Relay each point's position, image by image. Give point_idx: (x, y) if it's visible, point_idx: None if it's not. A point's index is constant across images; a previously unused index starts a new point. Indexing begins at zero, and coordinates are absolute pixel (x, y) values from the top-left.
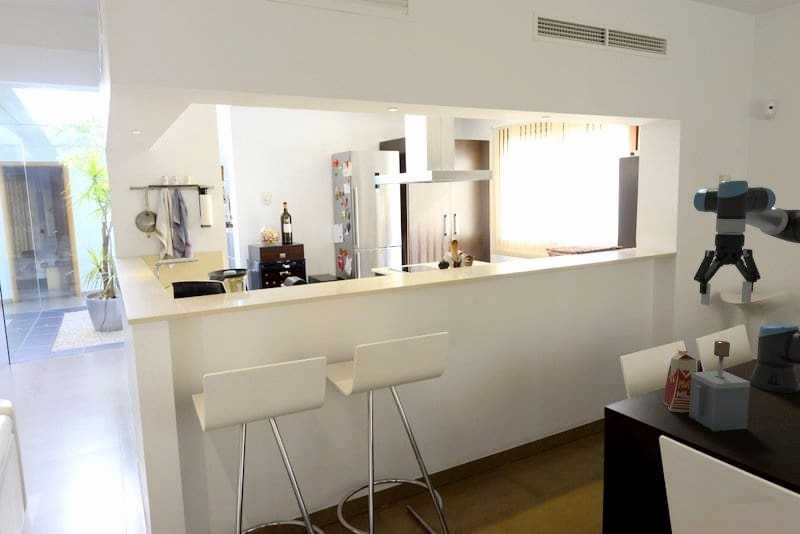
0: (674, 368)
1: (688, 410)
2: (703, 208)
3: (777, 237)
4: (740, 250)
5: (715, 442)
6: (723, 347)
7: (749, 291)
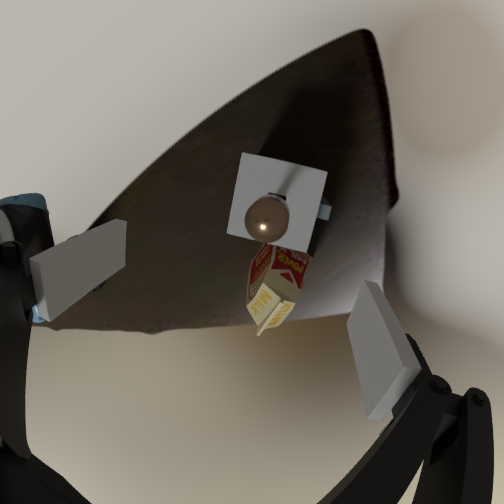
0: (298, 297)
1: None
2: None
3: None
4: None
5: (353, 138)
6: (281, 203)
7: (80, 241)
